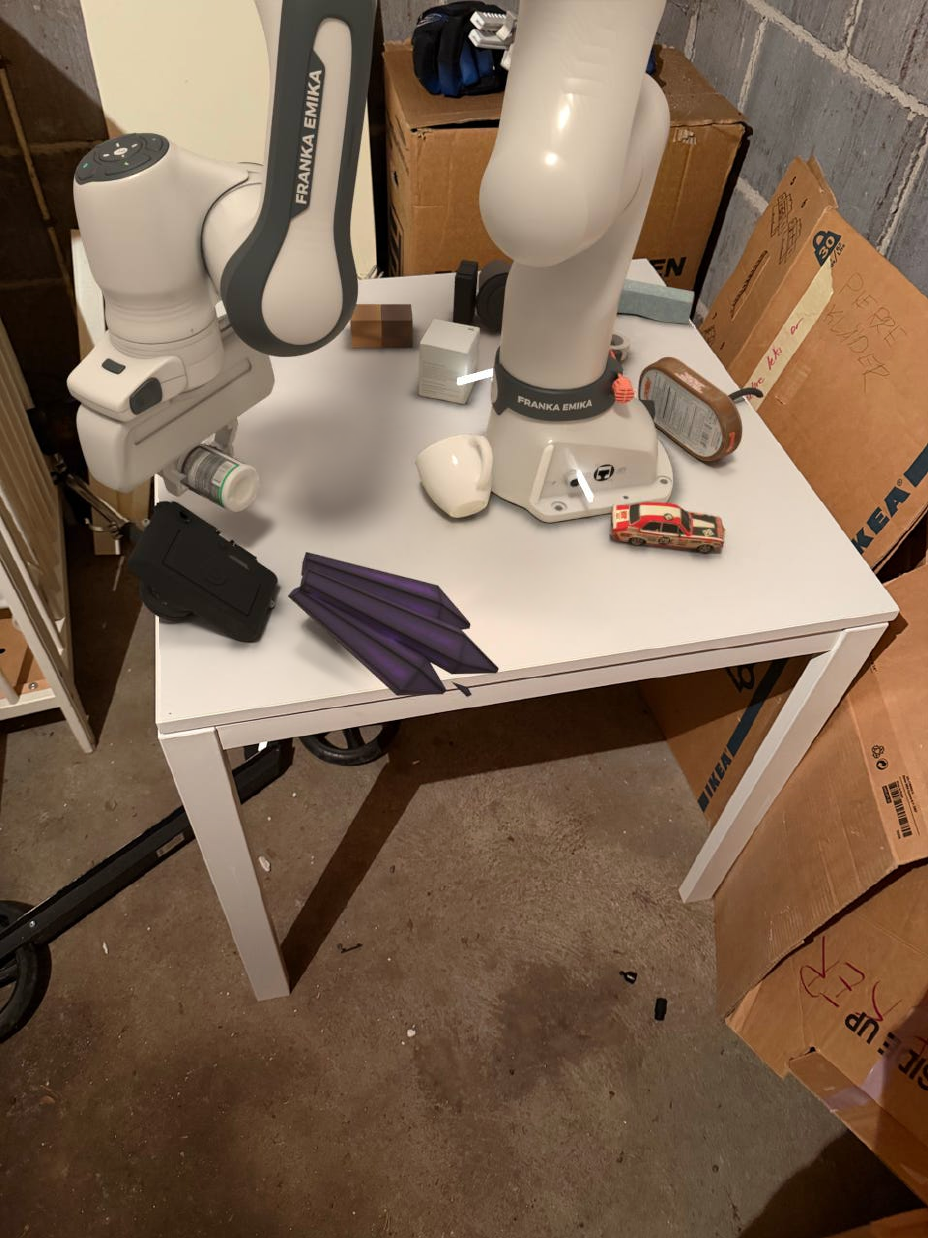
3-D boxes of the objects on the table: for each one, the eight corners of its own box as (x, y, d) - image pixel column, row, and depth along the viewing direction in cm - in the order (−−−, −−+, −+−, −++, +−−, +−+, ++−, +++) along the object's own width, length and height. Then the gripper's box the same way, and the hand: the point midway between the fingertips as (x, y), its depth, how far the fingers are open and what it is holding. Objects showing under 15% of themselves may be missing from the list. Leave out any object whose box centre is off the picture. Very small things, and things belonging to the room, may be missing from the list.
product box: (432, 369, 113) (433, 317, 108) (477, 378, 112) (481, 326, 107) (417, 395, 109) (418, 343, 104) (464, 405, 109) (468, 352, 103)
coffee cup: (537, 269, 124) (549, 296, 116) (504, 318, 128) (513, 346, 120) (490, 237, 120) (499, 262, 113) (457, 288, 124) (464, 316, 117)
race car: (611, 523, 98) (612, 491, 95) (723, 529, 95) (728, 496, 92) (607, 554, 95) (608, 522, 91) (723, 560, 92) (728, 528, 89)
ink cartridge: (459, 312, 122) (462, 256, 116) (475, 315, 122) (478, 259, 116) (451, 331, 119) (453, 274, 113) (467, 333, 119) (471, 277, 113)
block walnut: (411, 331, 119) (411, 303, 116) (412, 347, 116) (412, 319, 113) (381, 331, 119) (380, 303, 116) (382, 347, 116) (381, 320, 113)
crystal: (311, 544, 84) (496, 637, 87) (258, 645, 78) (457, 740, 81) (327, 508, 78) (525, 609, 81) (270, 614, 72) (485, 719, 75)
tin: (732, 468, 103) (754, 408, 97) (713, 477, 102) (734, 416, 95) (646, 402, 111) (661, 342, 105) (627, 409, 110) (641, 349, 103)
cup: (479, 522, 98) (460, 468, 100) (529, 479, 91) (509, 421, 92) (421, 527, 94) (402, 470, 95) (469, 483, 86) (448, 422, 87)
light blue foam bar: (539, 257, 126) (537, 270, 129) (529, 300, 125) (528, 312, 128) (696, 286, 125) (691, 299, 128) (688, 330, 124) (683, 341, 127)
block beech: (381, 331, 119) (380, 303, 116) (382, 347, 116) (381, 320, 113) (351, 331, 118) (349, 303, 115) (351, 347, 116) (350, 320, 113)
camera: (230, 664, 85) (255, 603, 90) (270, 635, 81) (294, 573, 86) (95, 584, 79) (130, 523, 84) (131, 548, 74) (165, 486, 80)
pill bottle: (258, 506, 86) (196, 474, 89) (263, 461, 84) (199, 429, 87) (223, 519, 83) (159, 485, 86) (226, 472, 80) (161, 439, 83)
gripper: (228, 287, 82) (250, 411, 93) (48, 389, 71) (97, 518, 81) (279, 307, 80) (296, 432, 91) (103, 416, 69) (146, 546, 79)
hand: (201, 474), depth 86 cm, fingers closed on pill bottle, 5 cm apart
